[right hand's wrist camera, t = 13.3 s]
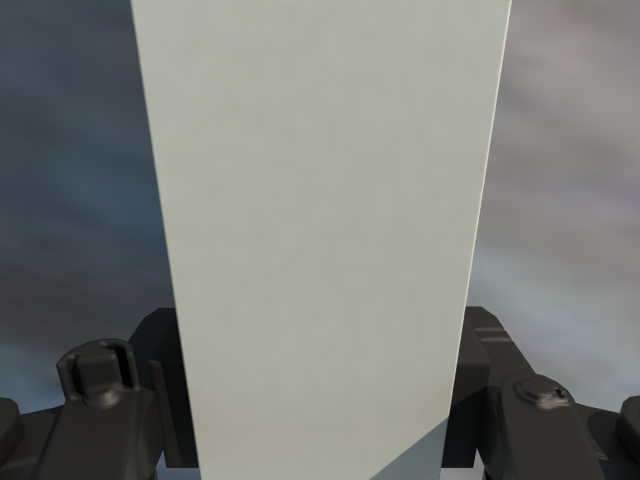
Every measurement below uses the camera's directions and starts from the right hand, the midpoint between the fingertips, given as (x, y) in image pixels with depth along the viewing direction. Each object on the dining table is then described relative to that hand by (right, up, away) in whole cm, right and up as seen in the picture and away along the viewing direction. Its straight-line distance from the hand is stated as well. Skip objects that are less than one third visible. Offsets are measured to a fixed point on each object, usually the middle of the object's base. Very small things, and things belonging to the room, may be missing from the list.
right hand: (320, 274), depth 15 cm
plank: (0, +11, -5) cm, 13 cm away
